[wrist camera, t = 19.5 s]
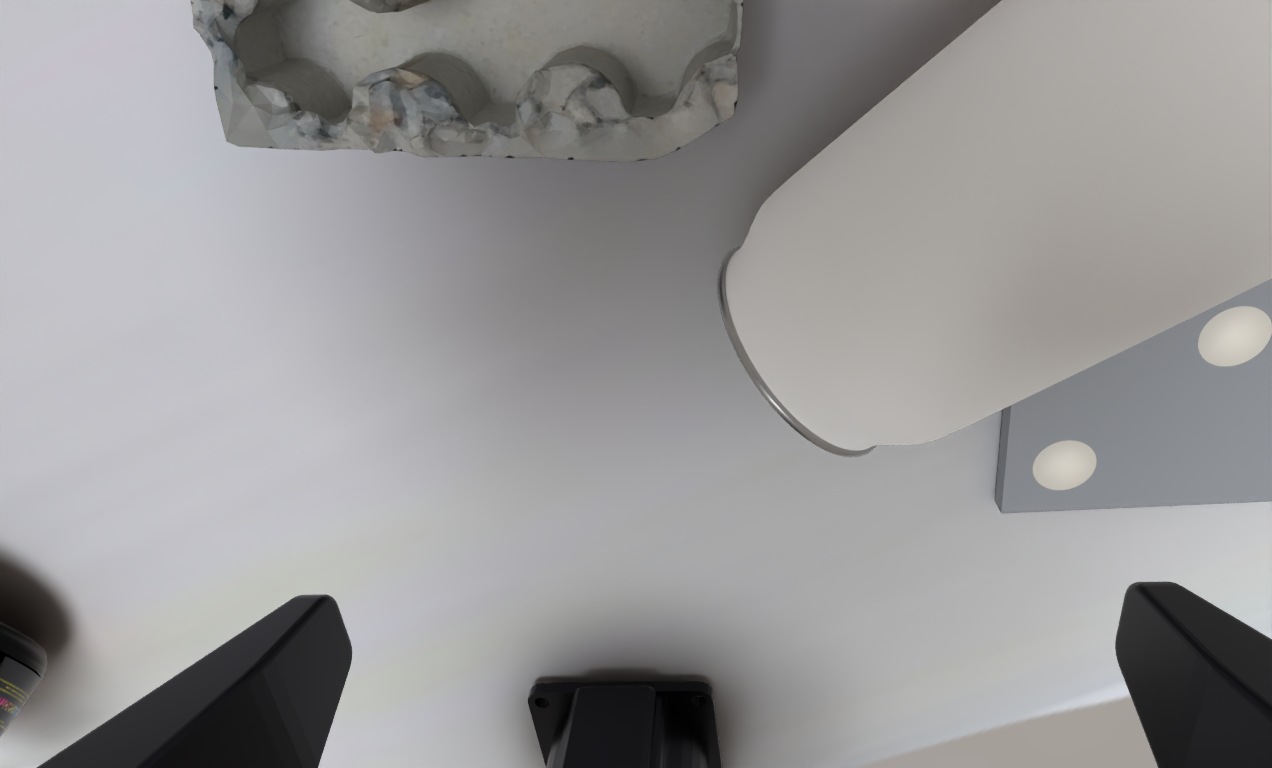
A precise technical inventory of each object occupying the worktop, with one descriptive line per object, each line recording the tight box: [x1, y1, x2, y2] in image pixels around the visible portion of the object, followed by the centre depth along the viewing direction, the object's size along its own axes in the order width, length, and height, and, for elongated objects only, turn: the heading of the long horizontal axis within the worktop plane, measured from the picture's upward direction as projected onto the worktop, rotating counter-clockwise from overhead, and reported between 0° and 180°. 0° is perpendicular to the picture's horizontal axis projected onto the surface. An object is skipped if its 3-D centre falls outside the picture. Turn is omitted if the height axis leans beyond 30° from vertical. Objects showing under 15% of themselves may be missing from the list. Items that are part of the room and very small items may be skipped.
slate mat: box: [995, 279, 1272, 513], centre depth 19 cm, size 10×10×1 cm
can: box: [717, 0, 1272, 457], centre depth 14 cm, size 6×6×12 cm
